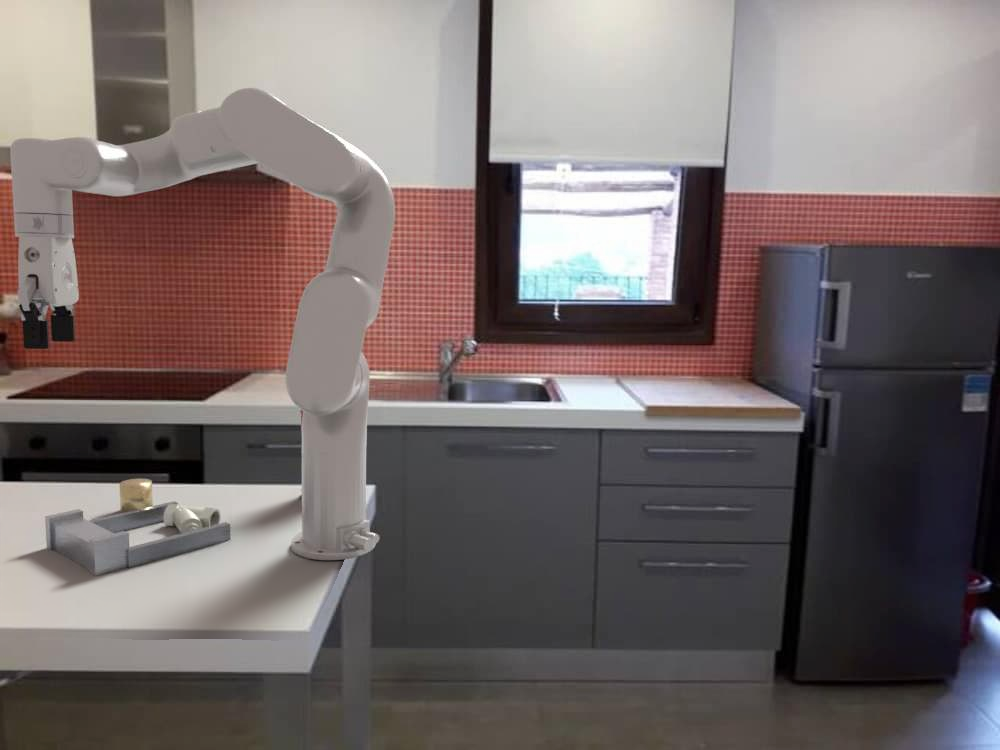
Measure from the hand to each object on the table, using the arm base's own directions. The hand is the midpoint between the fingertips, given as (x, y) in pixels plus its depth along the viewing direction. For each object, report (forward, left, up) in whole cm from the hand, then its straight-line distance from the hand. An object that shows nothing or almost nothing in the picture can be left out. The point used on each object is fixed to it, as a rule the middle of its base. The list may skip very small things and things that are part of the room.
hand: (50, 344), depth 121 cm
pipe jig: (-11, -7, -30) cm, 32 cm away
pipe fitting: (-11, -15, -30) cm, 35 cm away
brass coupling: (+4, -14, -30) cm, 33 cm away
